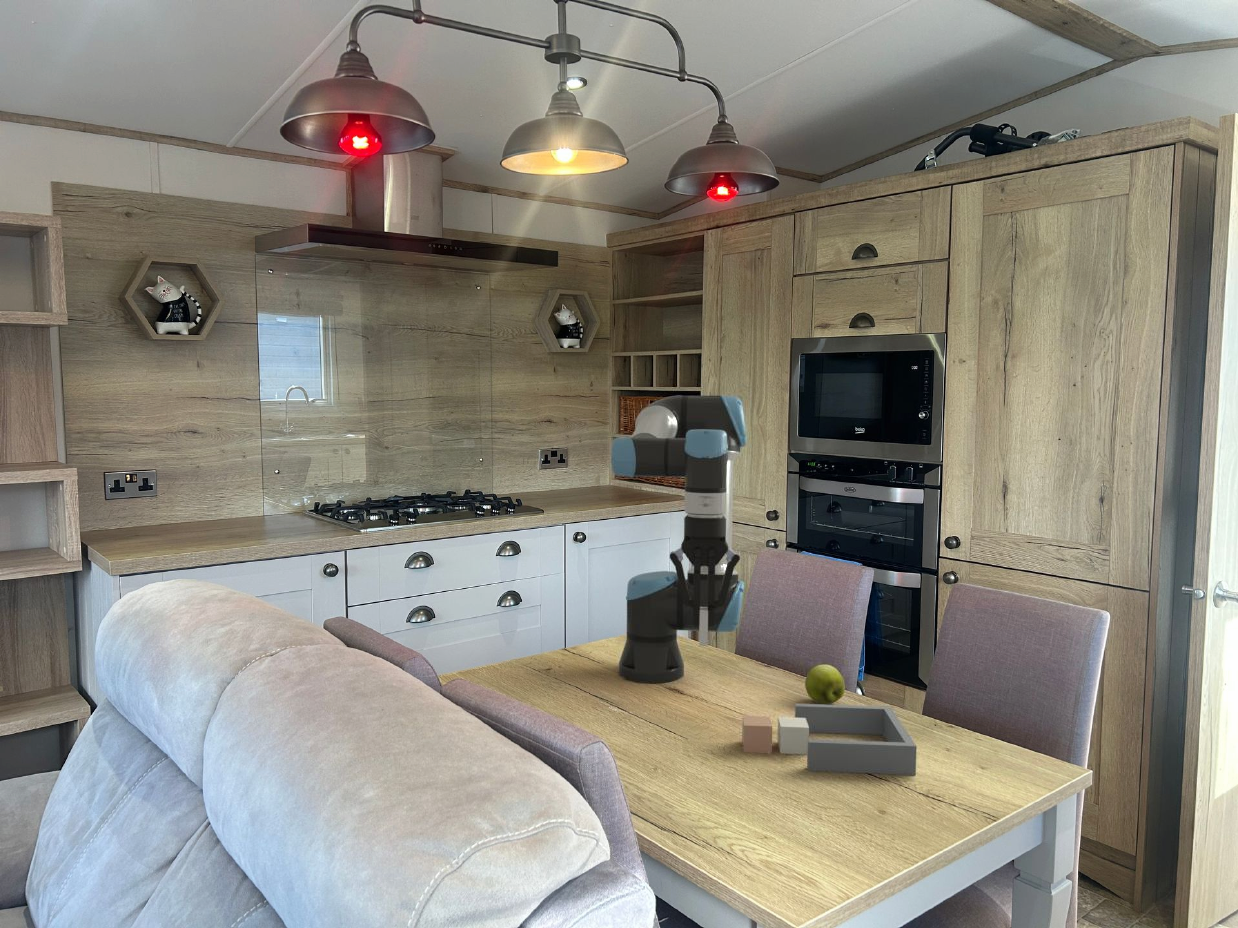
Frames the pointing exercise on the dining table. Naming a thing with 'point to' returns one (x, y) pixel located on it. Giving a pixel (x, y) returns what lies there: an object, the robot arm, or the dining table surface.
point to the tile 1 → (757, 734)
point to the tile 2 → (793, 735)
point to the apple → (825, 684)
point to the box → (858, 754)
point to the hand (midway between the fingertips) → (703, 643)
